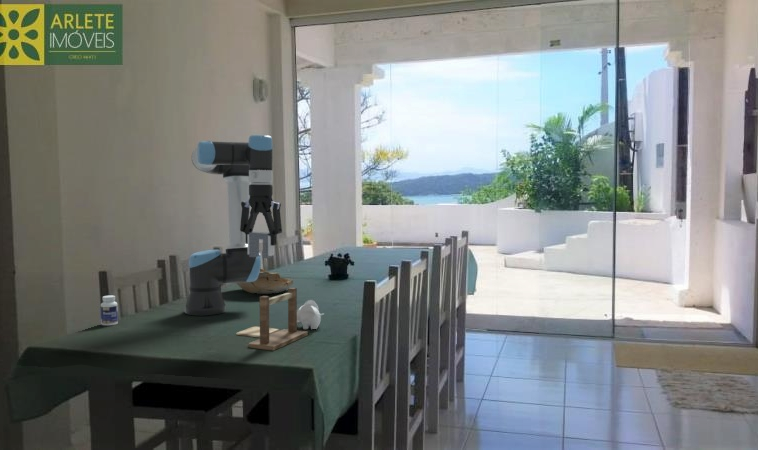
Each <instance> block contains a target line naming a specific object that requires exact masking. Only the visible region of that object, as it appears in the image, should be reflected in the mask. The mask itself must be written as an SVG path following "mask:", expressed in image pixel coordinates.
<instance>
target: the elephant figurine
mask: <svg viewBox="0 0 758 450" xmlns="http://www.w3.org/2000/svg"><path fill="white" fill-rule="evenodd" d="M319 309H320V308H319V305H318V304H317V303H316V301H314V299H309V300H307V301H305V302H304V304H303V305H301V306H300V307H299V308H297V327H298V326H299V324H300V323H301V325H302V329H303V330H308V329H309V327H310V330H312V329H316V330H317V329H318V327H319V326H320V323H321V320H322V317H321V316H323V315H325V313H320V311H319Z"/></svg>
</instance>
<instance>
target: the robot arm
mask: <svg viewBox="0 0 758 450" xmlns="http://www.w3.org/2000/svg"><path fill="white" fill-rule="evenodd" d="M273 150H274V144H273V138H272V136H271V135H267V134H266V135H263V134H257V135H256V134H253V135H250V136H249V137H248V142H243V141H242V142H241V141H240V142H239V141H238V142H237V141H211V140H206V141H202V140H201V141H198V143H197V147H196V148H195V149H194V150H193V151H192V154H191V162H192V165H193V166H194V167H195V168H196V169H198V170H197V171H201V172H203V173H206V174H210V175H222V180H223V181H224V182H225V183H226V184H227V187H226V188H227V189H226V190H227V209H228V210H227V212H228V214H227V216H228V238H229V244H228V245H227V246H226V247H225V252H224V253H222V251H221V250H220V249H208V250H207V249H206V250H201V251H197V252H194V253H192V254H191V255H189V258H188V266H187V267H188V276H189V277H188V279H189V280H188V288H189V291H188V296H187V299H186V303H185V305H184V313H185V314H186V315H189V316H196V317H197V316H199V317H201V316H202V317H203V316H213V315H214V316H215V315H219V314H223V313H225V312H226V311H227V306H226V303H225V299H224V296H223V294H222V284H237V283H243V282H244V283H246V282H253V281H255V280H257V278H258V276H259V272H260V269H261V264H262V258H261V252H259V256H258V257H249V232H254V231H253V230H254V227H255V225H256V221H257V217H258V215H259V214H262V216H263V217H264V219H265V223H266V226H267V229H268V233H270V234H269V236H268V256H272V255H273V256H274V255H275V246H276V245H277V235H279V234H282V233H283V226H282V219H281V216H282V215H281V206H282V204H281V202H275V201H274V199H273V188H274V187H273V184H272V183H274V182H273V180H274V179H273V156H274V155H273V153H274V152H273ZM271 208H272V209H271Z"/></svg>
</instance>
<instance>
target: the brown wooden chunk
mask: <svg viewBox="0 0 758 450" xmlns="http://www.w3.org/2000/svg"><path fill="white" fill-rule="evenodd" d="M293 284H294V280H293V279H292V278H291V279H290V278H284V277H281V275H280V273H278V272H269V271H267V270H265V269H263V268H260V272H259V276H258V278H257V280H255V281H253V282H246V283H244V282H243V283H236V285H238V286H239V288H240V289H242V290H243V291H245V292H247V293H251V294H254V293H257V294H256V295H271V294H272V293H274V294H279V292H280V293H283V292H284V291H287V290H288V288H291V286H292V285H293Z"/></svg>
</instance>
